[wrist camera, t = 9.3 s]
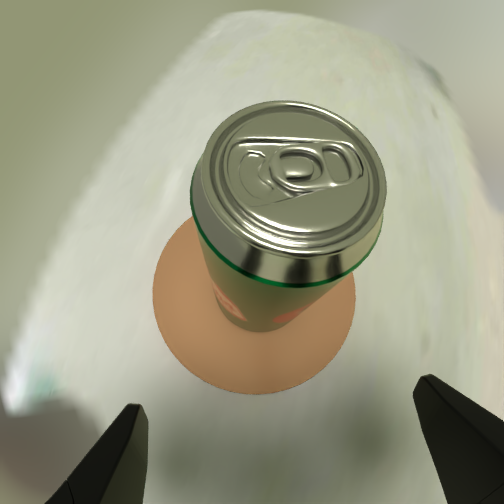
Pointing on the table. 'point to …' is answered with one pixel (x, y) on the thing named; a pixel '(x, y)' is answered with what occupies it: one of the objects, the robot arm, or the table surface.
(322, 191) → the soda can
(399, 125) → the table surface
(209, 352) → the terracotta plate
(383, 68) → the table surface
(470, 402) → the robot arm
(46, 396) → the table surface
